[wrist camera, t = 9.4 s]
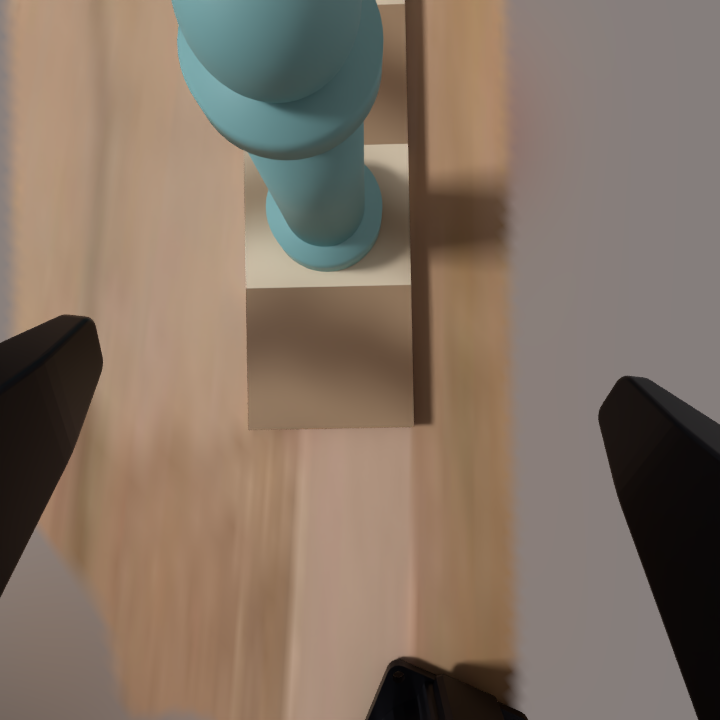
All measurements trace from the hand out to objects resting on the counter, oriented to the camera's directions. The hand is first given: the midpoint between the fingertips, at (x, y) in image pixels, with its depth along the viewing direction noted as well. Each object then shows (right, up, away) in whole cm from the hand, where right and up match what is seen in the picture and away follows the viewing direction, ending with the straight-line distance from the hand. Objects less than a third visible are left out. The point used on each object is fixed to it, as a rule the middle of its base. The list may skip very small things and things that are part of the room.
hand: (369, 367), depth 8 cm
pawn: (-2, +6, +12) cm, 14 cm away
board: (-2, +9, +13) cm, 16 cm away
